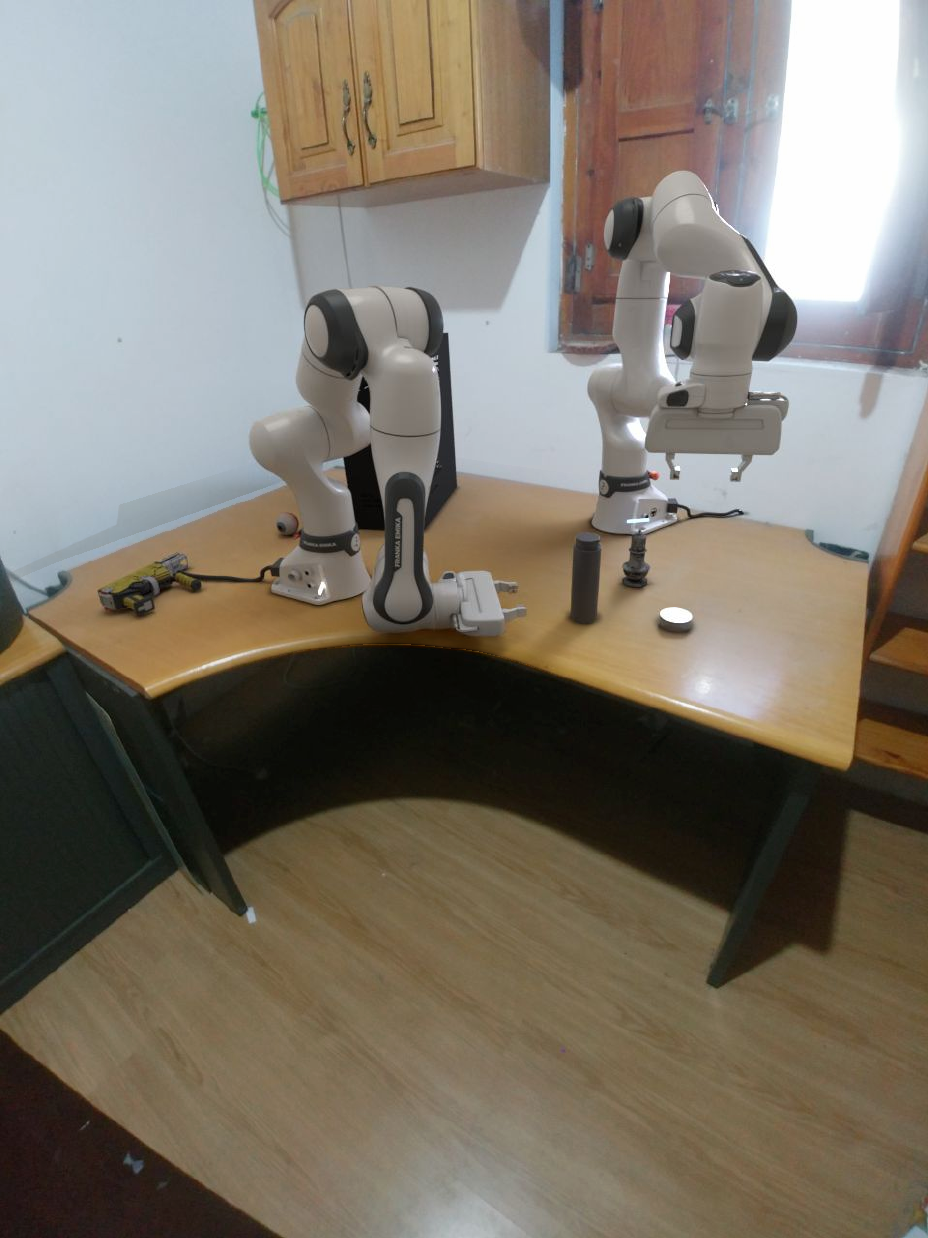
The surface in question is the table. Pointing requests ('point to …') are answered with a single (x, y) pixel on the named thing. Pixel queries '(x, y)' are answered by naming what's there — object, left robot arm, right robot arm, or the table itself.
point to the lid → (675, 619)
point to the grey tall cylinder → (585, 578)
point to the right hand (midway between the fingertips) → (704, 479)
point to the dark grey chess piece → (636, 562)
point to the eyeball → (287, 523)
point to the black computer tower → (444, 476)
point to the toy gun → (146, 585)
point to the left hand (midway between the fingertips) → (521, 598)
